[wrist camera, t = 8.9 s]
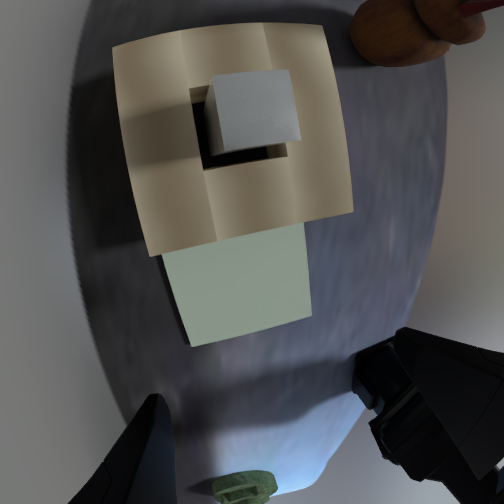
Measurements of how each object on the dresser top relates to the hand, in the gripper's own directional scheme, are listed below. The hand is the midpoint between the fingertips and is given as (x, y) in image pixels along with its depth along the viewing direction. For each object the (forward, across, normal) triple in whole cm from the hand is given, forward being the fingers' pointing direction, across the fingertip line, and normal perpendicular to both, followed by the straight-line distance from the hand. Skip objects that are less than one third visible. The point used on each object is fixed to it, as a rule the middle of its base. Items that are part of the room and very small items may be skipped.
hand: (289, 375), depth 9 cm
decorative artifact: (+12, +6, +37) cm, 39 cm away
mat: (+12, 0, +2) cm, 12 cm away
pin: (+12, -1, -9) cm, 15 cm away
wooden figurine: (+12, -14, -16) cm, 24 cm away
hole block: (+11, -1, -9) cm, 15 cm away
